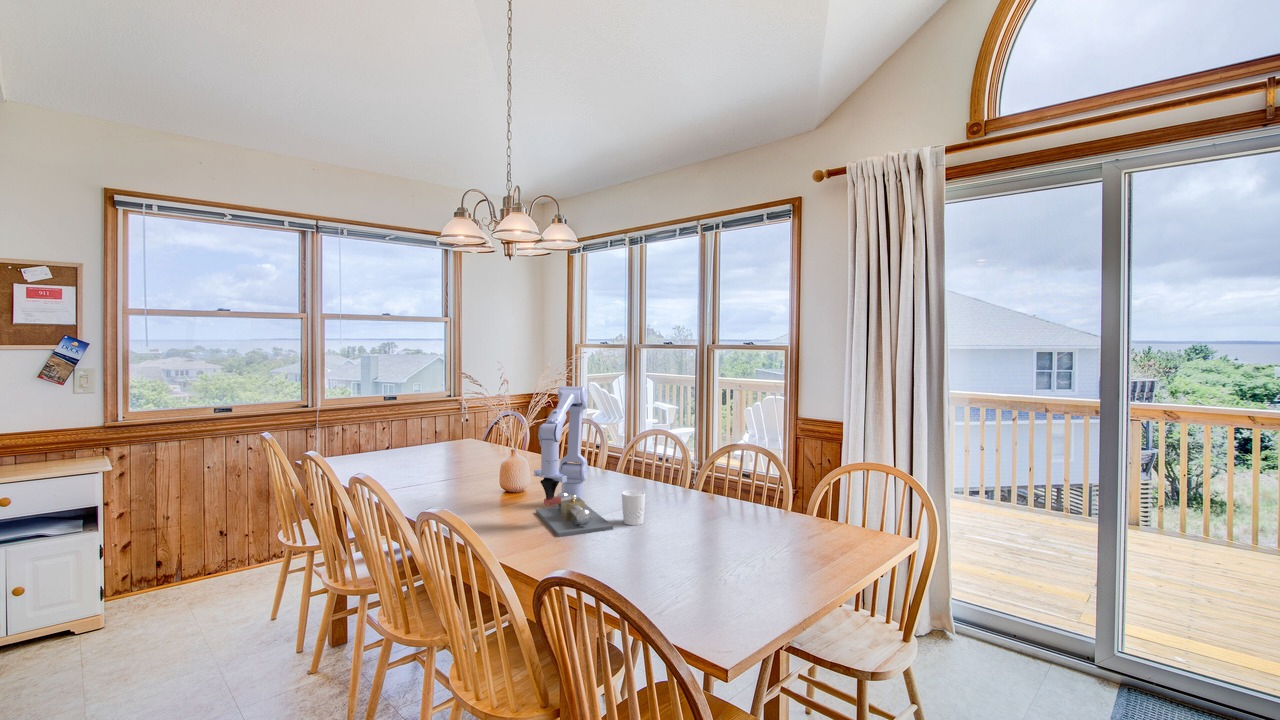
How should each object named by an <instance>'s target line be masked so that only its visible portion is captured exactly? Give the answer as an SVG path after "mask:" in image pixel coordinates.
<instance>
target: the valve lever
mask: <svg viewBox="0 0 1280 720" xmlns="http://www.w3.org/2000/svg"><path fill="white" fill-rule="evenodd" d="M569 499H577V495H576V494H569V495H568V496H563V497H559V496H557V495H556V496H555V495H554V497H550V498H546V497H545V498H544V499H543V505H544V506H547V507H548V506H552V505H553V506H554V505H558V503H561V501H565V500H569Z"/></svg>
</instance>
